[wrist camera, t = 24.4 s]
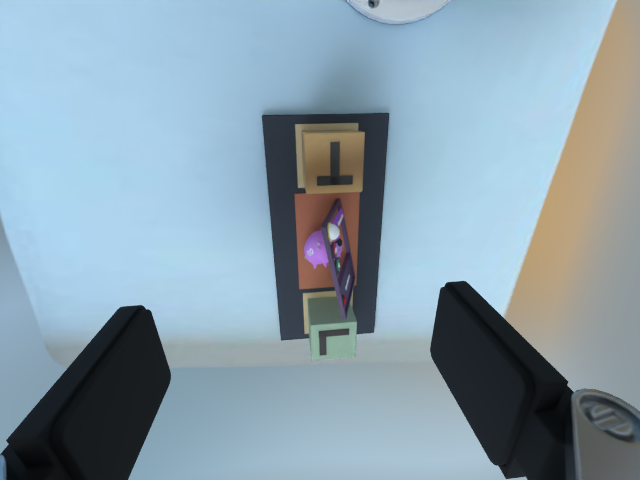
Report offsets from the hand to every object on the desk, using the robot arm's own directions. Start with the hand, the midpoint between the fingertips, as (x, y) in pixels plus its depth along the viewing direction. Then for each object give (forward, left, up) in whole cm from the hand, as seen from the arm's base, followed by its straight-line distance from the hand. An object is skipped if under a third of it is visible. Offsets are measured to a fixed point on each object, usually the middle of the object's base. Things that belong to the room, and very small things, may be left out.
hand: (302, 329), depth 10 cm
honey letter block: (-4, +2, -19) cm, 20 cm away
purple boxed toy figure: (+4, +5, -20) cm, 21 cm away
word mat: (+4, +5, -20) cm, 21 cm away
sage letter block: (+12, +8, -19) cm, 24 cm away
